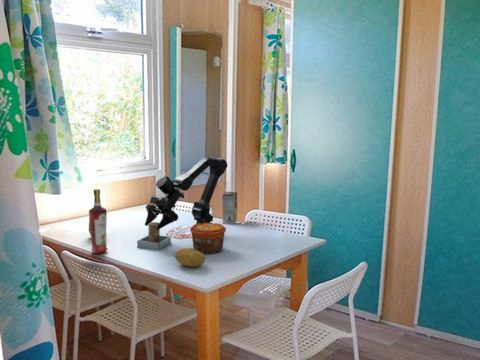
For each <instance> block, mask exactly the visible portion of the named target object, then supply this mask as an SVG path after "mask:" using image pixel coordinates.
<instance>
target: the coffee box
mask: <svg viewBox="0 0 480 360" xmlns="http://www.w3.org/2000/svg"><path fill="white" fill-rule="evenodd" d="M237 221H238V191H226V192H224V193H223V194H222V224H224V225H235V223H236V222H237Z"/></svg>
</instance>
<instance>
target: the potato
mask: <svg viewBox="0 0 480 360" xmlns="http://www.w3.org/2000/svg"><path fill="white" fill-rule="evenodd" d="M205 255H206V254H203V253H201V252H199V251H196V250H194V248H187V247H186V248H185V247H184V248H181V249H178V250H176V251H175V252H174V257H175V261H177V263H178V264H180V265H183V266H185V267H188V268H195V267H198V266H199V267H200V266H201V265H203V264H204V263H205V260H206V256H205Z"/></svg>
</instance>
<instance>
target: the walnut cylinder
mask: <svg viewBox="0 0 480 360" xmlns="http://www.w3.org/2000/svg"><path fill="white" fill-rule="evenodd" d="M159 223H160V222H155V221H152V222H151V223H149V224H148V225H147V226H148V235H149V242H156V243H159V242H160V236H161V234H160V233H161V232H160V229H159V230H157V226H158V225H159Z"/></svg>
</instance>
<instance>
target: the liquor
mask: <svg viewBox="0 0 480 360" xmlns="http://www.w3.org/2000/svg"><path fill="white" fill-rule="evenodd" d="M93 196H94V199H93V207H91V208H90V209H89V210H88V214H89V217H90V228H91V235H90V237H91V252H92V253H94V255H103V254H105V253H106V252H107V251H108V247H107V225H108V224H107V223H108V222H107V218H108V217H107V216H108V215H107V214H108V213H107V208H105V207H103V206H102V203H101V189H100V188H95V189H94V188H93Z"/></svg>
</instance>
